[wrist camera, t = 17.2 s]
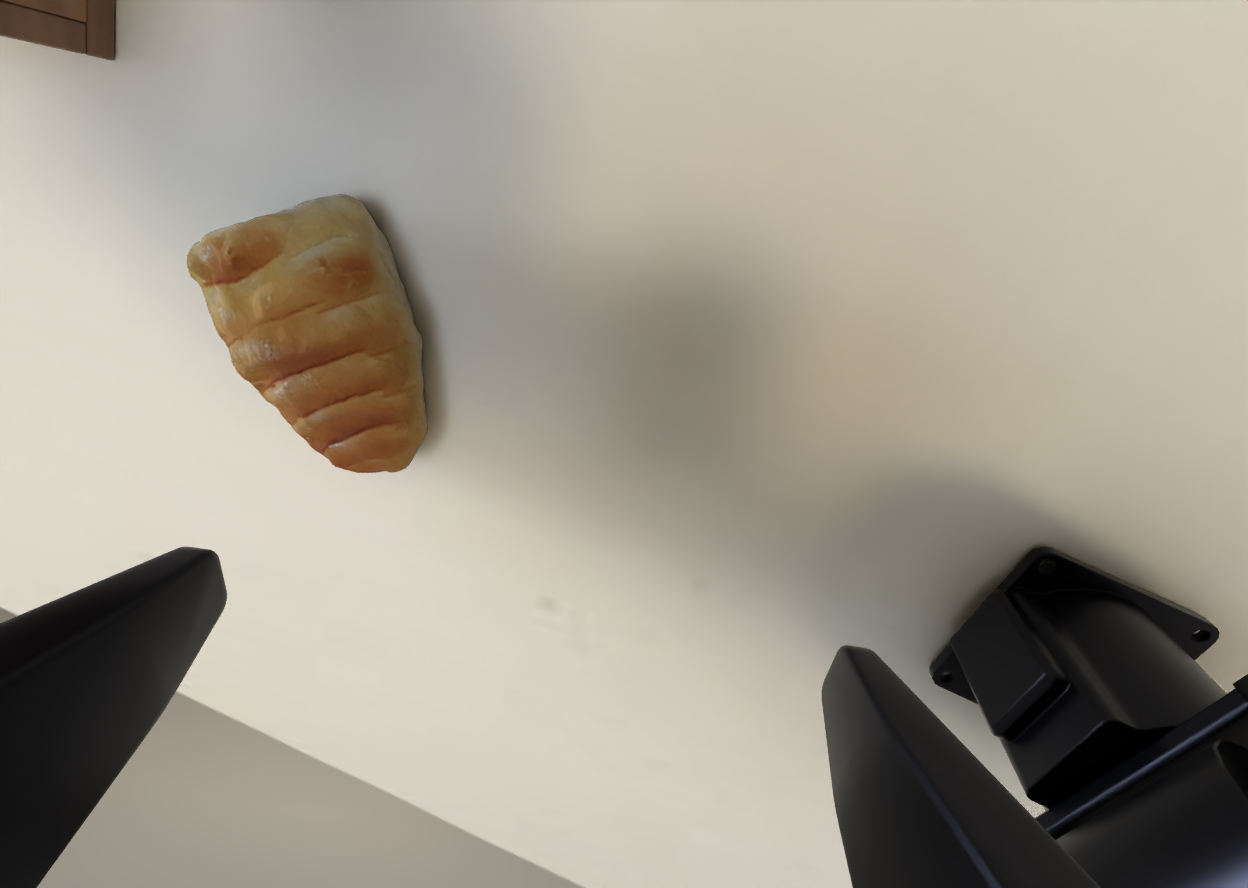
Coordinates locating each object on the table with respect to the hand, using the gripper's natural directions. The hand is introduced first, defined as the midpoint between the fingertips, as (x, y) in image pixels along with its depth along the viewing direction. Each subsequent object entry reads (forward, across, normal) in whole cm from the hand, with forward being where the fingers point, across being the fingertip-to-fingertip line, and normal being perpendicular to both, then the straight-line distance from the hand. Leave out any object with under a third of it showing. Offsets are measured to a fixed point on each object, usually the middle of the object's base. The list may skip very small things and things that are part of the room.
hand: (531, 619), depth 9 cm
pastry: (+14, +9, +2) cm, 17 cm away
